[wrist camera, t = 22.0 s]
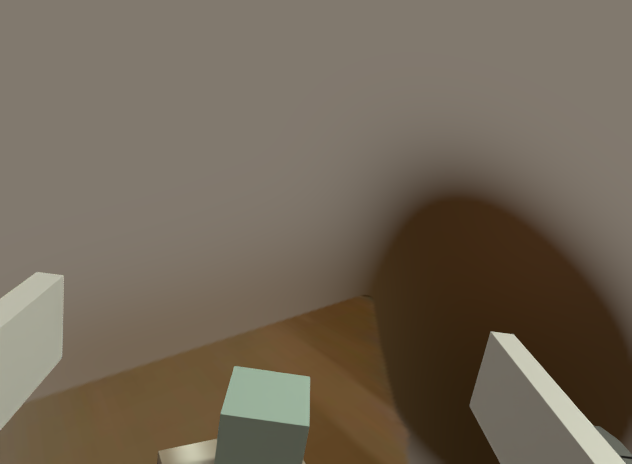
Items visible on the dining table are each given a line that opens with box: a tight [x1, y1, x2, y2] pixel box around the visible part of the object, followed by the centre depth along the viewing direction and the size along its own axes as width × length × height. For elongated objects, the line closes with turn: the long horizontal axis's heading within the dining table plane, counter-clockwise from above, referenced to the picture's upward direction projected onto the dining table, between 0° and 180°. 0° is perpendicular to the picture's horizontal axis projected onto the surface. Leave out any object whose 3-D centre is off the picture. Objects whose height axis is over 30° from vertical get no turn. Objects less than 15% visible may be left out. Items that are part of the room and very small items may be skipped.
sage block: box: [214, 366, 310, 464], centre depth 44 cm, size 7×7×10 cm
